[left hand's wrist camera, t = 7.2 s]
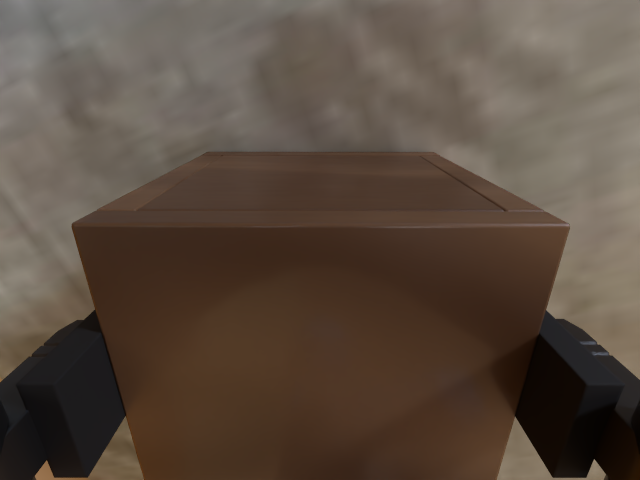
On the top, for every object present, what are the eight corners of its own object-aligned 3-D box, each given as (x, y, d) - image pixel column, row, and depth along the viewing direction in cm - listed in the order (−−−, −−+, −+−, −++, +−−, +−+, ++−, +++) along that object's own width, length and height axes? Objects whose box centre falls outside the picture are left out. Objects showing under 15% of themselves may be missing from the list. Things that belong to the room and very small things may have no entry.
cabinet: (402, 415, 23) (454, 626, 14) (238, 415, 23) (184, 625, 14) (434, 152, 16) (573, 224, 7) (207, 151, 16) (68, 223, 7)
